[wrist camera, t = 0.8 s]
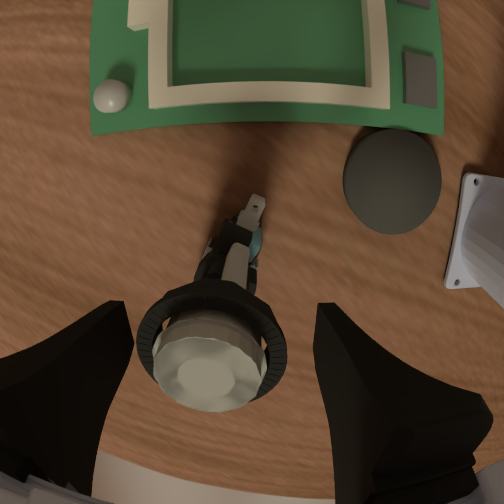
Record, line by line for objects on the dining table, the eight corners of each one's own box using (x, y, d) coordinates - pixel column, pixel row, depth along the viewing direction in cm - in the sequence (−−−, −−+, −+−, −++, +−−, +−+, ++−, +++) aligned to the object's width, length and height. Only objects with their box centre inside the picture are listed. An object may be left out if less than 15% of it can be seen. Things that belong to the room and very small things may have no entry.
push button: (216, 174, 17) (165, 239, 8) (303, 214, 18) (346, 318, 9) (174, 272, 19) (116, 392, 10) (252, 306, 20) (246, 439, 11)
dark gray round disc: (435, 134, 16) (445, 136, 15) (425, 228, 18) (434, 235, 17) (343, 124, 16) (348, 124, 15) (338, 226, 18) (342, 233, 17)
